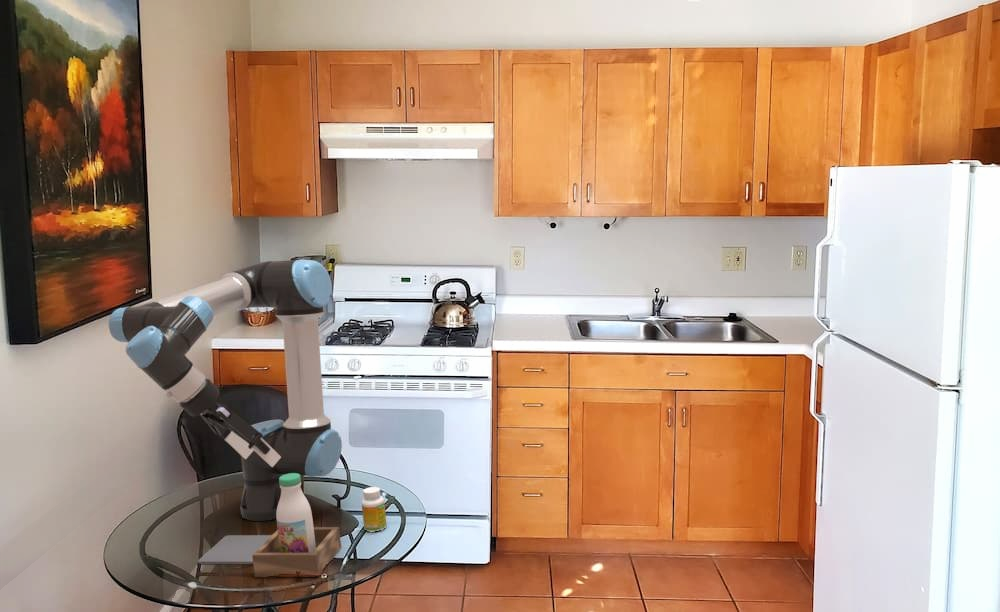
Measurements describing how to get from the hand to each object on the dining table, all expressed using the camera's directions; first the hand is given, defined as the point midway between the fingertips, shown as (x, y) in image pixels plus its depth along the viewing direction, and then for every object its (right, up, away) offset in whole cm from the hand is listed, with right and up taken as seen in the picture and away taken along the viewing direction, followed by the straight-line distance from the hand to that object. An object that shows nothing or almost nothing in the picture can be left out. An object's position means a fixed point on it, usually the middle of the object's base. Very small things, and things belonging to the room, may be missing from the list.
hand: (262, 458), depth 181 cm
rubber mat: (-10, -24, +16) cm, 31 cm away
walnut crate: (+6, -24, +7) cm, 26 cm away
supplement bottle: (+21, -21, +23) cm, 37 cm away
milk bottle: (+6, -25, +7) cm, 26 cm away
